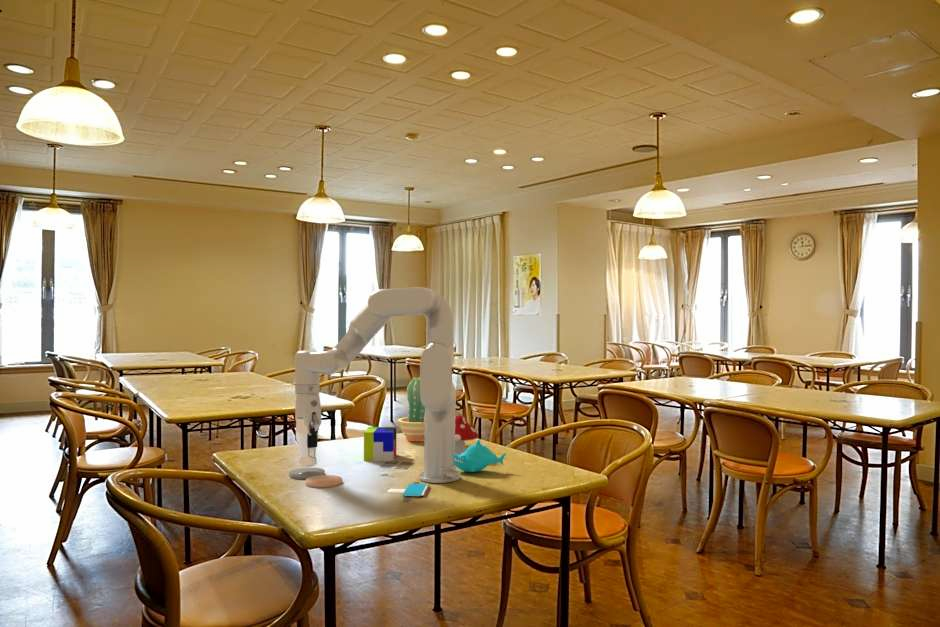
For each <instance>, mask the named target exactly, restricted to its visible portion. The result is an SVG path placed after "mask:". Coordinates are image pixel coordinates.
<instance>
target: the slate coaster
mask: <svg viewBox="0 0 940 627" xmlns="http://www.w3.org/2000/svg"><path fill="white" fill-rule="evenodd" d="M325 472H326V471H325V469H323V468H320V467H299V468H295V469H292V470H290V471H289V472H288V476H289V478H291V479H293V480H306V479H307V478H309V477H313V476H319V475H326V474H325Z"/></svg>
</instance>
